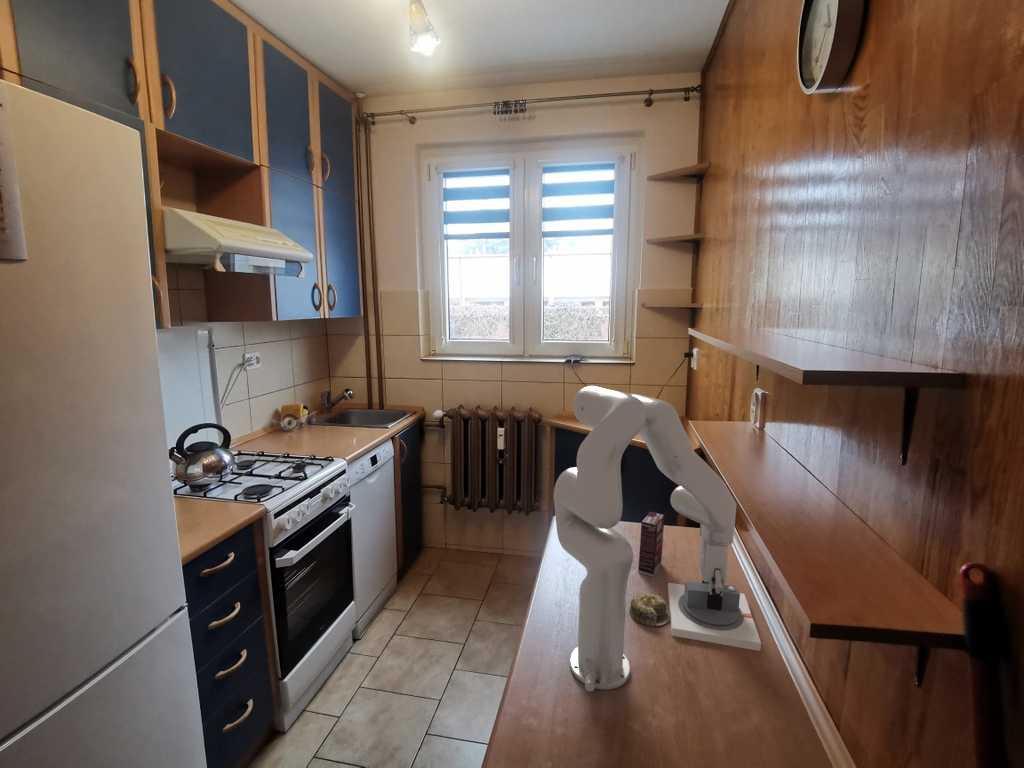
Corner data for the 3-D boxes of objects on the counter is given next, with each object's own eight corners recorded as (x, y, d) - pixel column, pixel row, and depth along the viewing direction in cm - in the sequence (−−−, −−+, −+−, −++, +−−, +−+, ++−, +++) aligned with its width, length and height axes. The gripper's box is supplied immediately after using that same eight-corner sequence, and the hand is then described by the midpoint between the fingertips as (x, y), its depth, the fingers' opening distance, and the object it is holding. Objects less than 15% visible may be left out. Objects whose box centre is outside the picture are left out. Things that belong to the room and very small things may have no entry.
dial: (688, 623, 113) (690, 600, 112) (677, 591, 126) (679, 569, 125) (746, 628, 112) (749, 605, 111) (729, 595, 124) (731, 573, 123)
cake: (622, 620, 119) (622, 600, 119) (637, 600, 127) (636, 581, 127) (662, 632, 114) (662, 611, 113) (675, 611, 122) (674, 591, 121)
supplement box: (654, 578, 136) (657, 525, 133) (637, 573, 139) (640, 521, 136) (662, 564, 143) (665, 514, 141) (646, 559, 146) (648, 510, 143)
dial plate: (760, 651, 108) (761, 641, 107) (671, 635, 113) (672, 626, 112) (743, 600, 126) (744, 592, 126) (667, 589, 131) (668, 581, 130)
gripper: (696, 515, 125) (691, 575, 128) (704, 547, 108) (698, 616, 111) (727, 518, 123) (722, 580, 126) (740, 552, 106) (734, 622, 109)
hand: (711, 597), depth 118 cm, fingers open, 9 cm apart
